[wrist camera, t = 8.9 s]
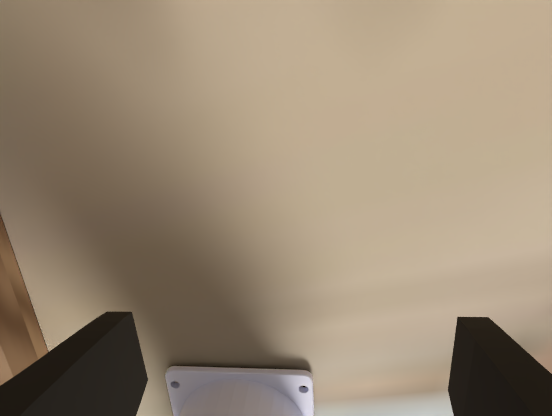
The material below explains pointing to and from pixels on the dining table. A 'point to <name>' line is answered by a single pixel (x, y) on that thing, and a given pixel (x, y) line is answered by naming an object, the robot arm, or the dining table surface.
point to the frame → (16, 317)
